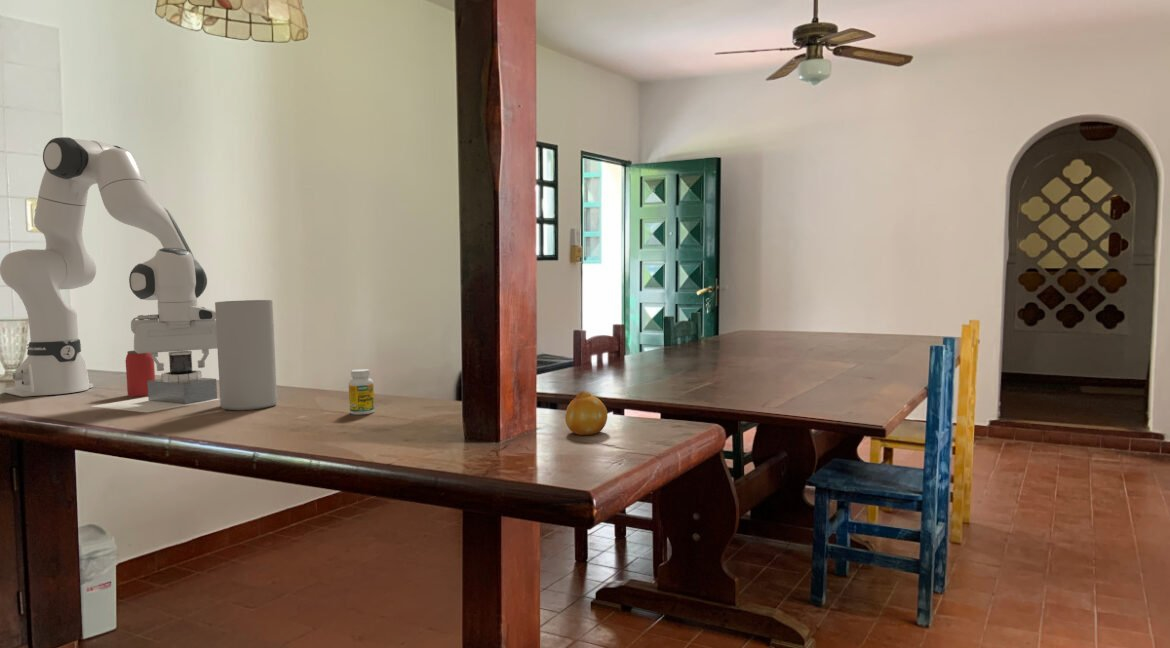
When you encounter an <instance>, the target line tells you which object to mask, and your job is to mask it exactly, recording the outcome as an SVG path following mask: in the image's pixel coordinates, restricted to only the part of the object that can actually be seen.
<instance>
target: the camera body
mask: <svg viewBox="0 0 1170 648" xmlns="http://www.w3.org/2000/svg"><path fill="white" fill-rule="evenodd" d="M160 376H161V378H157V379H155V380H150V381H147V383H148V396H147V397H148V400H149V401H156V402H167V403H177V404H189V403H195V402H201V401H206V400H212V399H218V385H217V378H211V377H203V376H202V370H195V369H192V373H188V374H170V371H166V372H163V373H161V375H160Z"/></svg>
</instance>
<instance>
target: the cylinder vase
mask: <svg viewBox="0 0 1170 648" xmlns="http://www.w3.org/2000/svg"><path fill="white" fill-rule="evenodd" d="M273 305H274V304H273V300H272V299H253V300H252V299H251V300H249V299H245V300H228V301H227V300H226V301H225V300H224V301H215V302H214V308H215V310H214V311H215V312H216V319H215V320H216V331H217V349H216V350H217V364H218V365H217V366H218V367H217V368H218V378H219V379H218V383H219V399H220V400H219V404H220V407H221V408H222V409H223V410H224V411H225V410H226V411H233V412H234V411H254V410H261V409H262V410H263V409H267V408H271V407H273V406H275V405H276V404H277V403H278V392H277V391H278V390H277V388H278V387H277V369H276V349H275V347H276V346H275V344H276V343H275V329H274V328H275V326H274V325H275V324H274V309H273V308H274V306H273Z"/></svg>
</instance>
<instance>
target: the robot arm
mask: <svg viewBox="0 0 1170 648" xmlns="http://www.w3.org/2000/svg"><path fill="white" fill-rule="evenodd" d="M42 162H43V165H44V167H45V171H44V173H43V176H42V179H41V181H40V182H41V183H40V186H39V190H38V195H37V201H36V206H35V212H34V219H33V224H34V227H35V228H36V230H38V231H39V232H40V233H42V234H43V236H44V238H45V243H46V244H45V249H37V248H36V249H34V248H33V249H30V248H29V249H21V250H17V251H13V252H9V253H7V254H6V255H5V256H3V258H2V260H1V261H0V277H1V280H3V283H4V284H6V286H8V287H9V288H10V289H12V290H13V291H14V292H15V293H16V294H17V296H18V297H19V298H20V299H21V301H22V303H23V305H24V308H25V310H26V313H27V318H28V319H27V320H28V326H29V335H30V342H28V344H26V346H27V347H26V349H27V353H26V355H27V357H26V358H25V360H23V361H22V362H21V364H20V365H19V366H18V367H17V368H16V369H15V370H14V372H13V373H12V379H13V381H14V386H12V387H9V388H5V389H4V393H6V394H10V395H14V396H17V397H35V396H49V395H50V396H52V395H63V394H70V393H78V392H84V391H87V390H89V389H91V388H94V383H92V382H91V383H90V380H89V374H88V368H87V367H88V366H87V362H86V358H84V357H83V356H82V355H81V354H80V353H81V352H82V344H81V339H79V331H78V329H79V327H78V315H77V312H76V310H75V309H74V308H73V307H72V306H70V305H68V304H67V303H66V302H65V300H64V299H63V297H62V295H61V292H60V290H74V289H78V288H82V287H84V286H87V285H89V284H91V283H92V282H93V281H94V280H95V277H96V274H97V266H96V263H95V260H94V259H93V258H92V257H91V255H90V254H89V253H88V252H87V250H86V247H85V244H84V240H83V227H84V219H85V213H86V207H87V200H88V194H89V189H90V187H91V186H93V185H95V184H97V187H98V191H99V194H100V197H101V200H102V203H103V205H104V207H105V209H106V211H107V212H108V215H110V216H111V217H112V218H113V219H114V220H116V221H118V222H120V223H123V224H125V225H128V226H131V227H134V228H138V229H140V230H142V231H145V232H147V233H149V234H150V235H152V236H153V237H155V238H156V239H157V240H158V241H159V242H160V244H161V246H162V248H159V249H158V250H157V251H156V252H155V255H154V256H153V257H151V258H150V259H148V260H147V261H144V262H142V263H138V264H136V265H135V266H134V267H133V268H132V269H131V271H130V274H129V276H128V280H129V281H128V282H129V288H130V290H131V292H132V293H133V294H134V296H135V297H137V298H138V299H139V300H144V301H157V314H148V315H143V314H141V315H137V316H136V317H133V318H132V320H131V321H130V329H131V332H132V333H133V334H134V336H133V350H134V351H135V352H136V353H138V354H140V353H151V357H152V359H153V360H154V364H156V371H157V372H161V371H165V367H164V366H165V363H164V362H160V361H159V360H158V359H157V358H158V357H159V353H167V352H168V353H169V352H174V351H200V350H201V354H203V355H202V358H200V359H199V360H197V369H202V368H204V369H205V367H206V363H205V361H206V359H207V358H208V357H209V354H210V350H215V349H216V350H218V349H217V331H216V312H215V310H213V309H210V308H209V309H208V308H206V307H204V306H200V307H199V305H198V299H199V297H201V295H202V294H203V293H204V291H205V290H206V289H207V284H208V278H207V274H206V272H205V270H204V268H203V267H202V266H201V264H200V263H199V261H198V260H197V259H196V258H195V256H194V254H193V252H192V251H191V248H190V246H189V244H188V243H187V241H186V239H185V238H184V235H183V233H182V231H181V229H180V228H179V226H178V224H177V221H176V220H175V219H174V216H173V215H172V214H171V213H170V211H169V210H167V208H165V207H164V206H163V205H161V203H160V202H159V201H158V200H157V199H156V198H155V196H154V195H153V193H152V192H151V190H150V187H149V186H148V183H147V181H146V178H145V175H144V173H143V171H142V168H141V167H140V165H139V163H138V161H137V160H136V158H135V156H133V154H132V153H131V152H130V151H128V150H127V149H125V148H124V147H121V146H118V145H111V144H108V143H105V142H101V141H97V140H86V139H79V138H73V137H72V138H71V137H67V136H65V137H64V136H63V137H61V136H60V137H55V138H52V139H50V140H49V141H48V142H47V144H45V147H44V148H43V152H42Z"/></svg>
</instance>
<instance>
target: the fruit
mask: <svg viewBox="0 0 1170 648" xmlns="http://www.w3.org/2000/svg"><path fill="white" fill-rule="evenodd" d="M564 417H565V418H564V419H565V423H566V426H567V427H568V430H570V432H572V433H573V434H575V435H578V436H591V435H595V434H598V433H600V432H601V431H602V430H603V429H604V428H605V426H606V424H607V421H608V410H607V407H606V405H605V404H604V403H603V402H602V401H601V400H600V399H599V398H598V397H597V396H595V395H592V394H591V393H590V392H589V391H580V392H577V394H576V396H575V398H573V399H572V400H570V402H569V404H568V405H567V408H566V412H565V416H564Z"/></svg>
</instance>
